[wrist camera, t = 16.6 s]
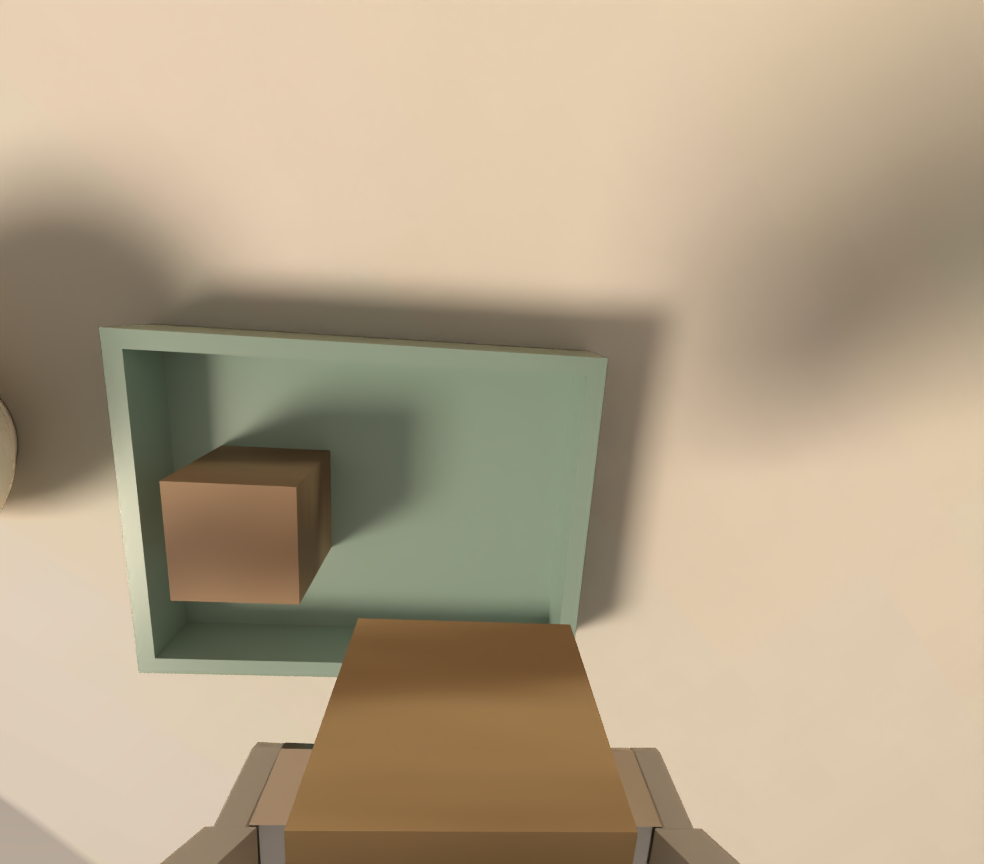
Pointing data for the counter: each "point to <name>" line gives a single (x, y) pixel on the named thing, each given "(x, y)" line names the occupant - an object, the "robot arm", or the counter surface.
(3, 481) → the lidded jar
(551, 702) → the oak block
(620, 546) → the counter surface
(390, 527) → the tray
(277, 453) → the walnut block
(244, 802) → the robot arm
